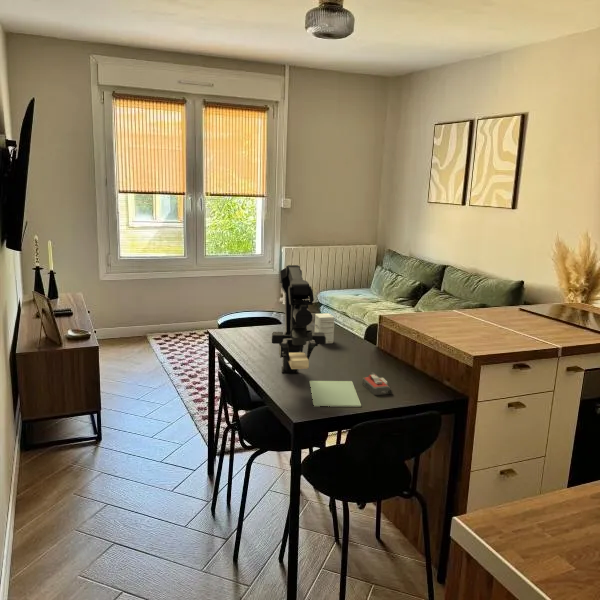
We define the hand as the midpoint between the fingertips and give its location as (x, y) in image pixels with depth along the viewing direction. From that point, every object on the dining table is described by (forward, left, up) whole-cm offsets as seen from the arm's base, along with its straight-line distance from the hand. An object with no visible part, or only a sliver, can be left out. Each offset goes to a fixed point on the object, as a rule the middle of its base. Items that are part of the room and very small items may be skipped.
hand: (297, 361), depth 190 cm
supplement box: (-60, +15, -11) cm, 63 cm away
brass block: (0, 0, -1) cm, 1 cm away
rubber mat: (+3, +13, -11) cm, 17 cm away
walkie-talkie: (-6, +29, -12) cm, 32 cm away
